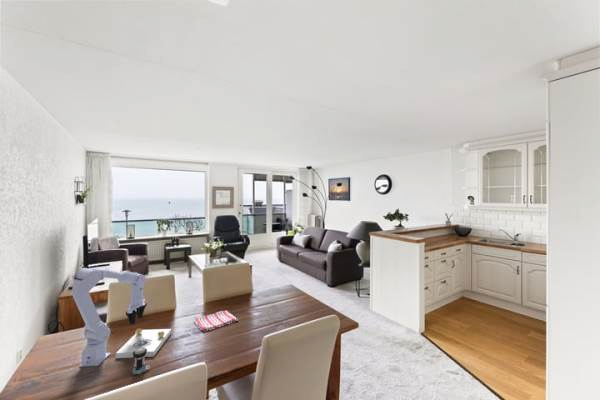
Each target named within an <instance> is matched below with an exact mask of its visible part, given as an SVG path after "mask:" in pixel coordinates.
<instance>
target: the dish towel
mask: <svg viewBox="0 0 600 400" xmlns="http://www.w3.org/2000/svg"><path fill="white" fill-rule="evenodd" d="M235 321H237V322H238V321H239V318H237V317H236V316H235V315H233V314H232V313H230V311H229V310H221V311H220V310H219V311H217V312H214V313H212V314H207V315H201V316H194V318H193V323H194V324H195V326H196V327H197V328H198V329H200V330H201V331H203V333H204V332H207V331H208V330H209V331H212V330H215V329H218V328H217V327H219V328H221V326H222V327H224V325H225V326H227V325H226V324H228V325H231V324H233V323H232V322H234V323H236V322H235ZM230 323H231V324H230ZM209 331H208V332H209Z"/></svg>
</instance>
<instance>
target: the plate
mask: <svg viewBox="0 0 600 400" xmlns="http://www.w3.org/2000/svg"><path fill="white" fill-rule="evenodd" d="M160 331H163V332H164V336H163V337H161V338H159V337H158V336H157V335H158V333H159V332H160ZM171 334H172V328H161V329H159V328H158V329H157V328H155V329H142V333H141V334H139V335H137V334H136V333H135V334H134V335H132V336H131V338H129V340H127V342H126V343H125V344H124V345H123V346H121V347H120V349H118V350H117V352H116V353H115V358H116V359H126V358H127V359H128V358H129V359H130V358H131V359H132V358H134V357H133V352H134V351H135V350H136V349H137V348H140V347H144V348H146V349H147V352H146V355H145V356H144V358H147V357H148V358H149V357H153V358H154V357H155V356H156V354H157V353H158V351H159V350H160V348H161V347H162V346H163V344H165V342H166V341H167V339H168V338H169V337H170V336H171ZM142 342H145V343H146V345H144V346H139V344H140V343H142Z"/></svg>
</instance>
